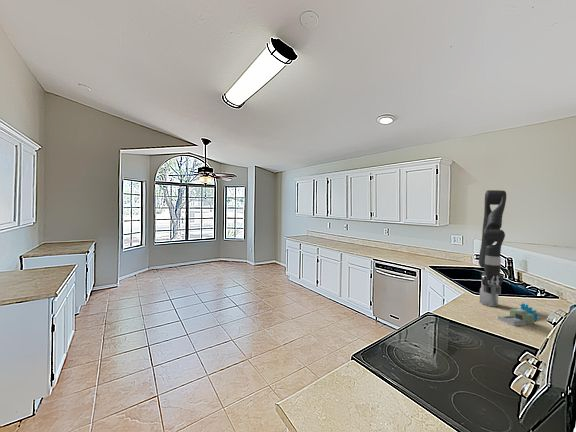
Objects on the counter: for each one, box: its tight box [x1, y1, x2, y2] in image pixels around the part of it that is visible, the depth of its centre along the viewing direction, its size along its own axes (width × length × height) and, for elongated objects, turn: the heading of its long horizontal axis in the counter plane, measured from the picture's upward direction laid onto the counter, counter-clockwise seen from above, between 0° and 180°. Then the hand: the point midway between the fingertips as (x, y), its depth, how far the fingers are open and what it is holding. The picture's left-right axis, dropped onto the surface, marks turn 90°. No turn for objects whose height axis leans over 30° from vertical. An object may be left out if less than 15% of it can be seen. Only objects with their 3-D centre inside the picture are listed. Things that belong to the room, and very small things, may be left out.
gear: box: [519, 303, 539, 321], centre depth 163 cm, size 11×6×10 cm
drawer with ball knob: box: [497, 308, 535, 327], centre depth 156 cm, size 10×13×6 cm
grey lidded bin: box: [483, 283, 502, 296], centre depth 164 cm, size 7×5×5 cm
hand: (491, 292), depth 164 cm, fingers closed on grey lidded bin, 4 cm apart
